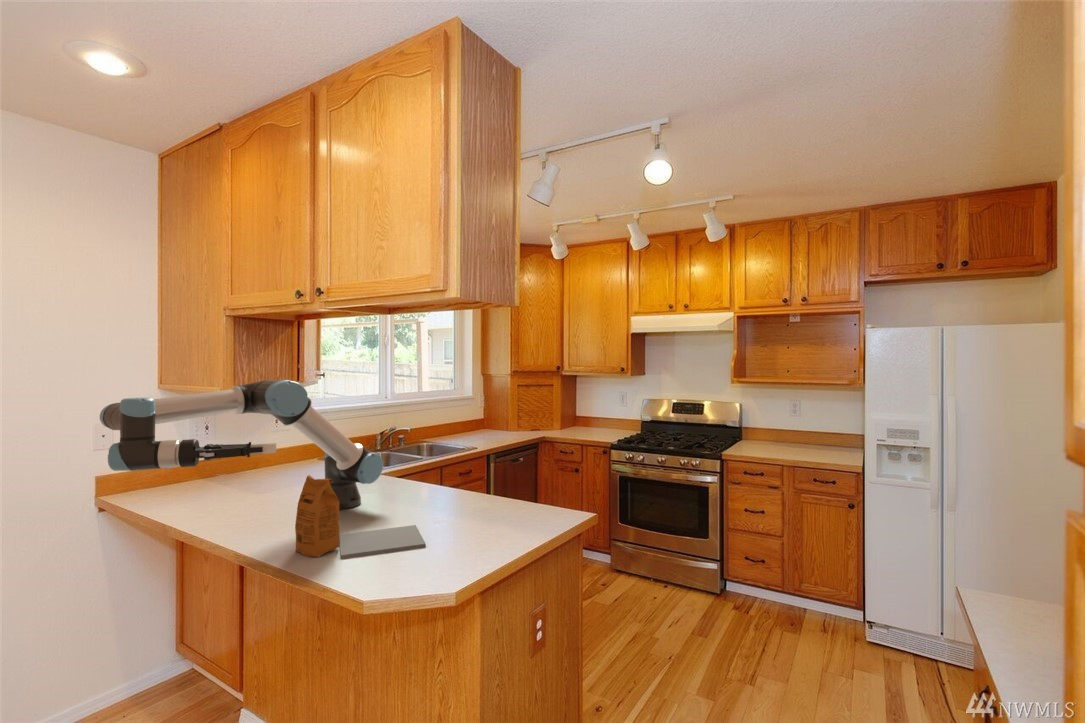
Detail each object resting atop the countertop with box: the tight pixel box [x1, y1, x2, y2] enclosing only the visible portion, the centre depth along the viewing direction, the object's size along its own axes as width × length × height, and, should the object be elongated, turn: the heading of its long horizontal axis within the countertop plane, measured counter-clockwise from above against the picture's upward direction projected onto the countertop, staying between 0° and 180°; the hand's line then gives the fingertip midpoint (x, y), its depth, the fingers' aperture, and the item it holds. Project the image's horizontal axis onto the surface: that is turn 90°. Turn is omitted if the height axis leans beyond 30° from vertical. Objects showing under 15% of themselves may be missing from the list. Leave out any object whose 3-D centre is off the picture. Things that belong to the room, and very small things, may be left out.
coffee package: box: [294, 474, 341, 558], centre depth 154 cm, size 10×12×22 cm
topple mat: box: [339, 524, 427, 559], centre depth 161 cm, size 20×24×1 cm
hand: (275, 448), depth 152 cm, fingers closed
